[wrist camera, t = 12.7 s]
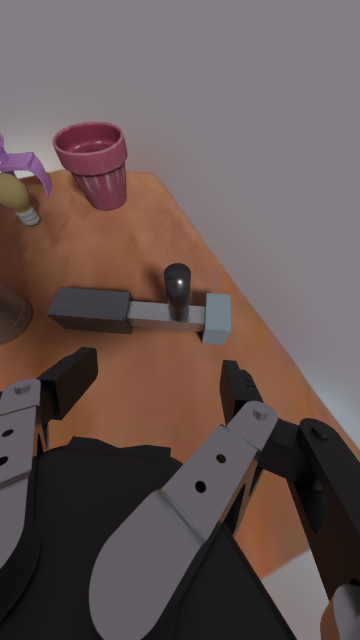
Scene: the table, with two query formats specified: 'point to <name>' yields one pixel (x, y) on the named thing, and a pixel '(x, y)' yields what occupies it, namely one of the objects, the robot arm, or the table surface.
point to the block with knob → (170, 305)
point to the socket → (217, 319)
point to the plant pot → (95, 161)
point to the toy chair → (23, 165)
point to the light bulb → (17, 198)
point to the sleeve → (91, 310)
